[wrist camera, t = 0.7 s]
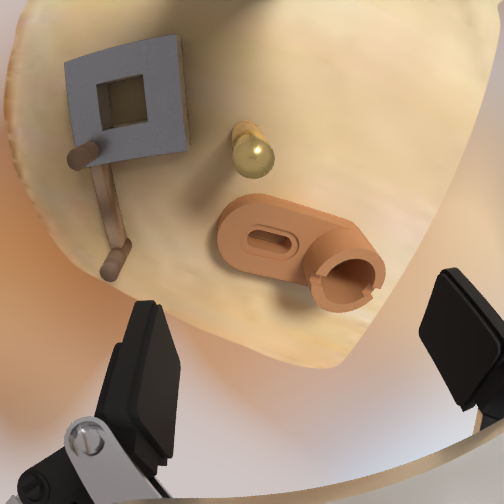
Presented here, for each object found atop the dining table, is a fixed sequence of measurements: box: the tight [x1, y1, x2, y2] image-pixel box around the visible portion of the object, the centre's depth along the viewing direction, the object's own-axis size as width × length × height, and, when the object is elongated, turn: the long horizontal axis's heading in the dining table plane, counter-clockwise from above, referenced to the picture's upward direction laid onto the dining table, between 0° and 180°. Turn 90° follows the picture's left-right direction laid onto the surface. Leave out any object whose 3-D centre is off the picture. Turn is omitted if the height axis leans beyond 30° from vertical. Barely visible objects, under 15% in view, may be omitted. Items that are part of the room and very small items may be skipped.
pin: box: [232, 121, 274, 179], centre depth 24 cm, size 3×3×10 cm
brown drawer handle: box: [67, 141, 132, 282], centre depth 28 cm, size 14×2×6 cm, turn 3°
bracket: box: [217, 194, 386, 313], centre depth 32 cm, size 18×8×7 cm, turn 72°
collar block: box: [64, 34, 191, 168], centre depth 24 cm, size 11×11×3 cm
